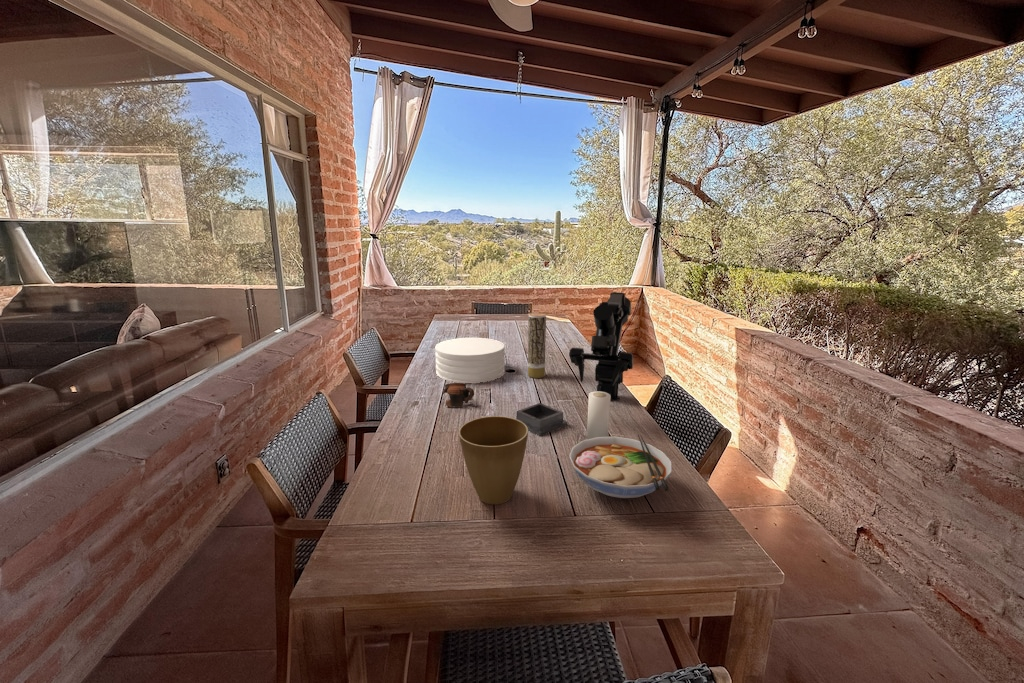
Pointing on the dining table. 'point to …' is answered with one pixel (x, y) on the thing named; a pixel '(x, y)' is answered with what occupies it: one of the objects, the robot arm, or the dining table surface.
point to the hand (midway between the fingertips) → (596, 383)
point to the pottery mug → (458, 394)
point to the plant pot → (494, 455)
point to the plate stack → (470, 360)
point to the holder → (541, 418)
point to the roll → (598, 414)
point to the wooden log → (536, 345)
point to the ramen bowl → (621, 466)
